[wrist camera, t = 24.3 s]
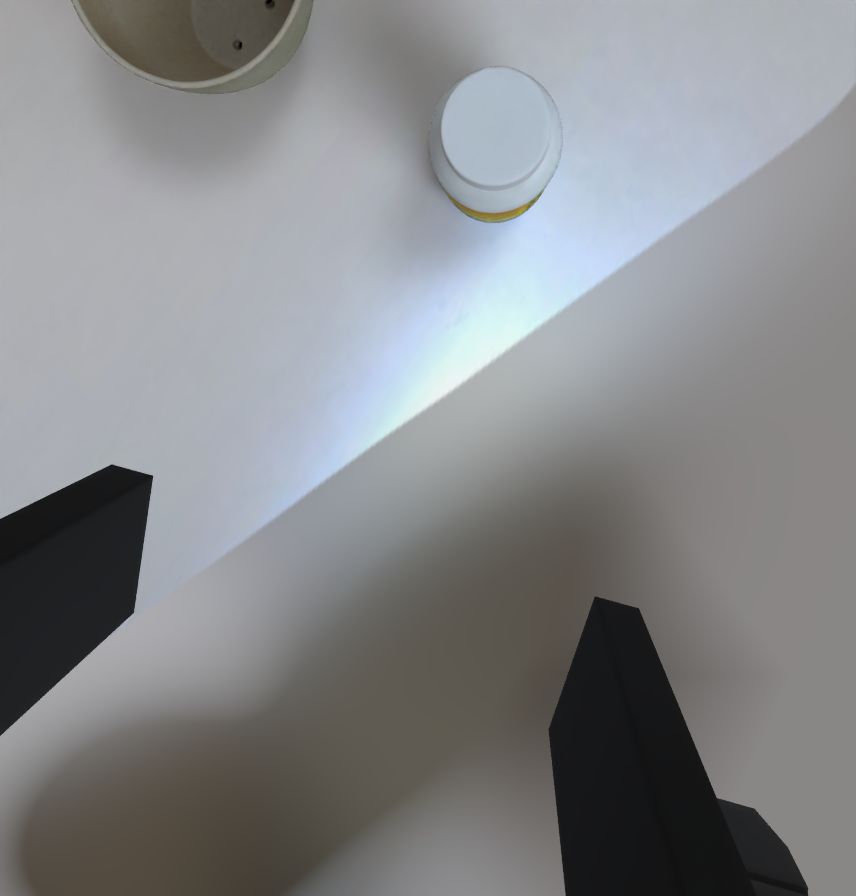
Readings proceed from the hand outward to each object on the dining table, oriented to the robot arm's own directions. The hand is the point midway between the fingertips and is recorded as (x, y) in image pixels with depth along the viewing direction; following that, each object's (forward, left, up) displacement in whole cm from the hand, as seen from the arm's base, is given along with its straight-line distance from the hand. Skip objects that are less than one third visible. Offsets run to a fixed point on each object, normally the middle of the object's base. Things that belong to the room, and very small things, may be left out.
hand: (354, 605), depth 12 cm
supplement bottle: (+4, -10, -25) cm, 28 cm away
